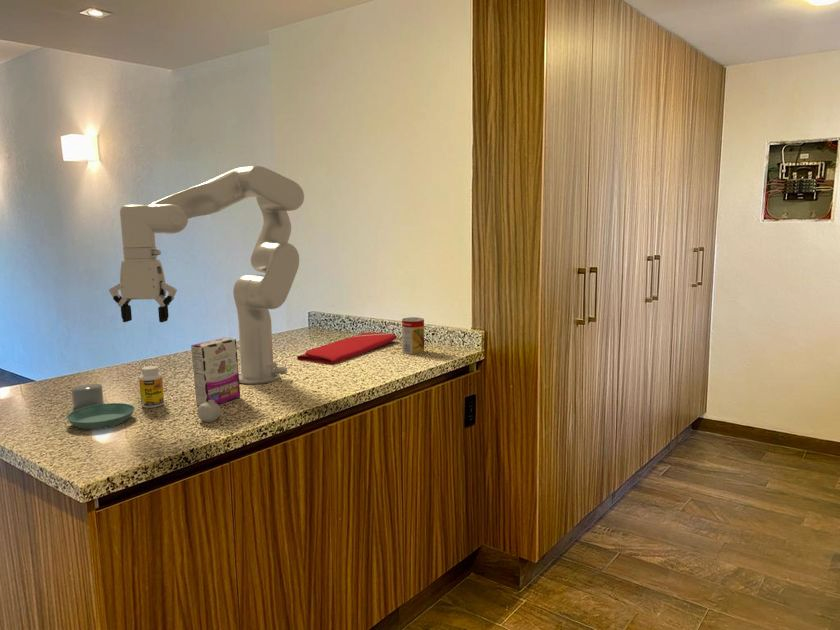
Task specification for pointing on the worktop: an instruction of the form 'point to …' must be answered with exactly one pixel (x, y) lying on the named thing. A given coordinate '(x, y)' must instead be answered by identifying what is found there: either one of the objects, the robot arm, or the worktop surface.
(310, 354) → the dish drying mat
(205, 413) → the garlic
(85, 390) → the grey short cylinder
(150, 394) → the supplement bottle
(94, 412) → the saucer
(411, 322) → the canned food
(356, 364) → the worktop surface
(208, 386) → the candy bar box
